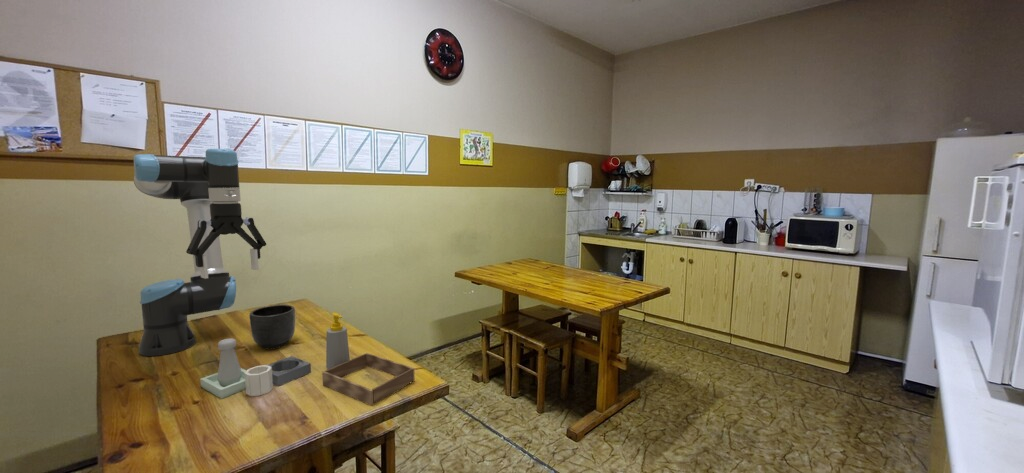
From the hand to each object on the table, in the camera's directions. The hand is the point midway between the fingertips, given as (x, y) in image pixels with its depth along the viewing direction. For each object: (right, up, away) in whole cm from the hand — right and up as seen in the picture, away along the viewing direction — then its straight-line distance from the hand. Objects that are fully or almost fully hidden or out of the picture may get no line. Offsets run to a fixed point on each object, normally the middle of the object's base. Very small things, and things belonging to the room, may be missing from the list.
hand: (231, 273), depth 120 cm
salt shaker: (+4, -31, -5) cm, 32 cm away
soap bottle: (+30, -31, +6) cm, 43 cm away
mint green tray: (+4, -32, -5) cm, 32 cm away
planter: (-1, -28, +24) cm, 37 cm away
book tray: (+43, -32, -3) cm, 53 cm away
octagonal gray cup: (+14, -32, -8) cm, 36 cm away
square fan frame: (+16, -31, +1) cm, 35 cm away
